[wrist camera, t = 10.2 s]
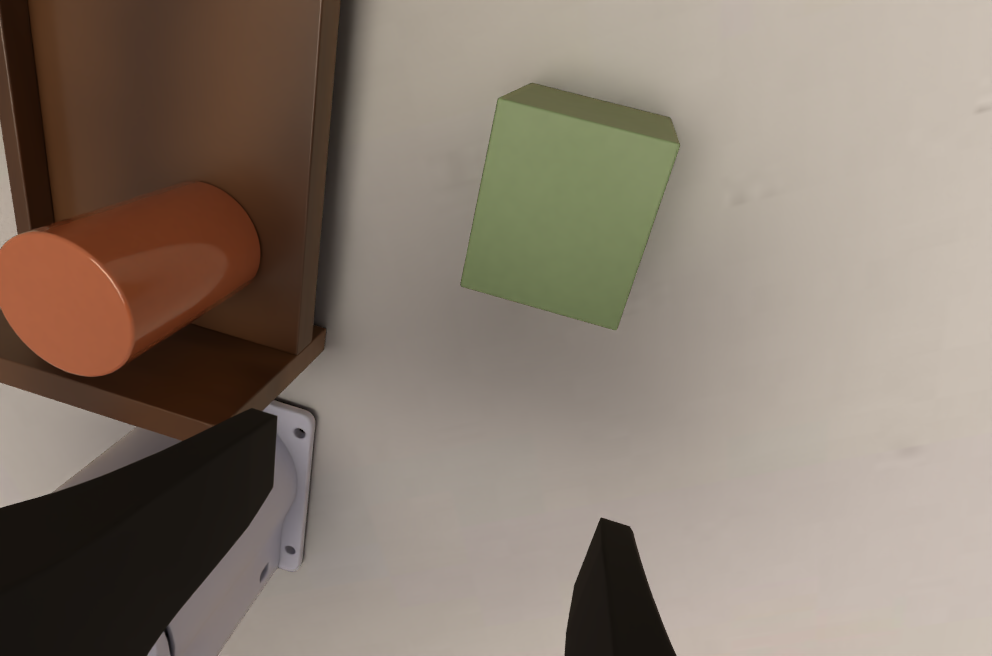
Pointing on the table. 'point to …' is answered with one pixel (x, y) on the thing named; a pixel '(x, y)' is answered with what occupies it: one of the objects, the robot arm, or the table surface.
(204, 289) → the terracotta cylinder
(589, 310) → the green block
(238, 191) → the shelf
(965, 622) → the table surface
